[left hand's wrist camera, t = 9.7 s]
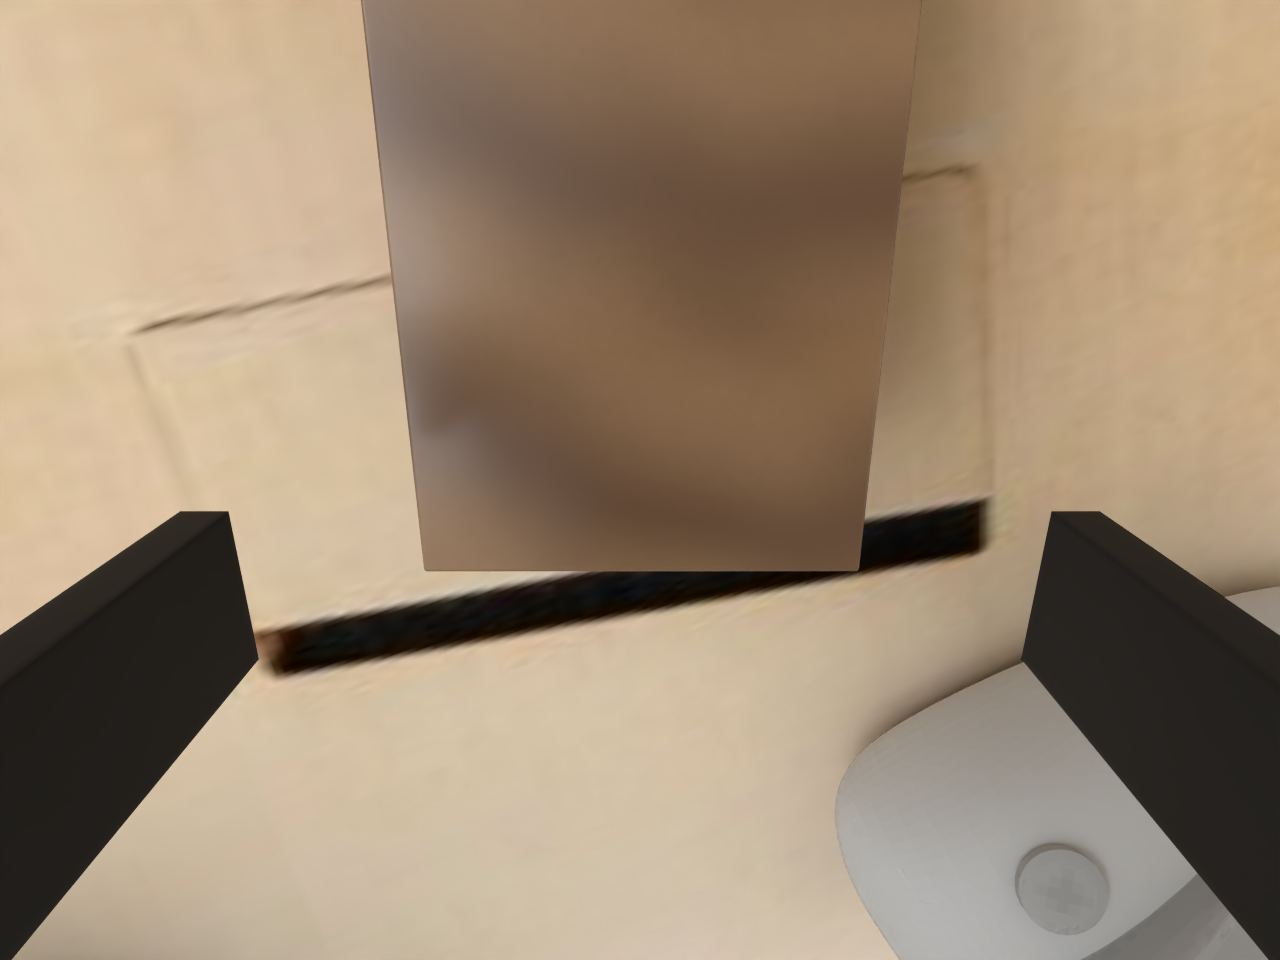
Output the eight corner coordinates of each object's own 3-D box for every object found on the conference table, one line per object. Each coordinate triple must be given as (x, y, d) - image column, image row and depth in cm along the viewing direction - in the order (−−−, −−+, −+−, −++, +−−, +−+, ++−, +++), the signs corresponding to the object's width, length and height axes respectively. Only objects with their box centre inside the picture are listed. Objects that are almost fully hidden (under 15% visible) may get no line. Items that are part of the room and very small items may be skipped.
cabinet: (460, -175, 23) (303, -501, 12) (820, -175, 23) (979, -502, 12) (501, 436, 30) (423, 572, 19) (780, 436, 30) (859, 572, 19)
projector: (1199, 954, 40) (1489, 1348, 26) (772, 910, 39) (845, 1298, 25) (1402, 585, 32) (1960, 870, 19) (878, 517, 31) (1064, 768, 18)
